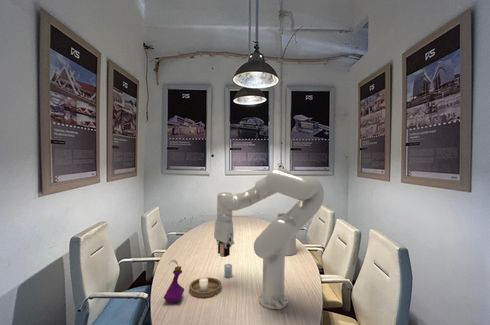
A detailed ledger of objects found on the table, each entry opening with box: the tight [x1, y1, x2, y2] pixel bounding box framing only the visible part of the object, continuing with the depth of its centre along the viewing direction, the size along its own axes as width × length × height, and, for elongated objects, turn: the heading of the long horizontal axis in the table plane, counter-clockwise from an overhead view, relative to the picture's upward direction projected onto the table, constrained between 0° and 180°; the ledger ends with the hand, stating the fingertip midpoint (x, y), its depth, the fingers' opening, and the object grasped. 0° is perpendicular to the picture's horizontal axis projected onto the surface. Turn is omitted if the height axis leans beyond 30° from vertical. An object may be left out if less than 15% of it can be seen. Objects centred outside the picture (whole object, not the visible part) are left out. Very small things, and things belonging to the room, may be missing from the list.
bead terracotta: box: [219, 242, 228, 258], centre depth 127 cm, size 4×4×6 cm
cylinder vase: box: [276, 212, 297, 257], centre depth 171 cm, size 12×12×25 cm
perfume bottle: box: [163, 258, 185, 304], centre depth 114 cm, size 8×8×18 cm
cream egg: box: [198, 276, 208, 292], centre depth 119 cm, size 4×4×6 cm
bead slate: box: [223, 263, 233, 279], centre depth 137 cm, size 4×4×6 cm
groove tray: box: [188, 276, 222, 299], centre depth 123 cm, size 15×15×2 cm
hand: (223, 253), depth 127 cm, fingers closed on bead terracotta, 4 cm apart
